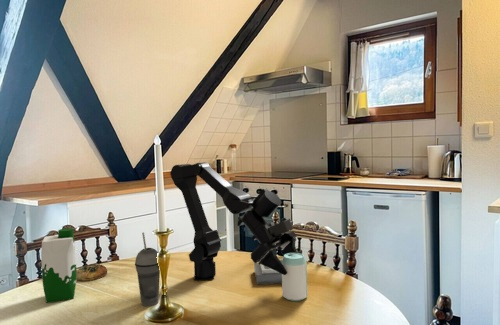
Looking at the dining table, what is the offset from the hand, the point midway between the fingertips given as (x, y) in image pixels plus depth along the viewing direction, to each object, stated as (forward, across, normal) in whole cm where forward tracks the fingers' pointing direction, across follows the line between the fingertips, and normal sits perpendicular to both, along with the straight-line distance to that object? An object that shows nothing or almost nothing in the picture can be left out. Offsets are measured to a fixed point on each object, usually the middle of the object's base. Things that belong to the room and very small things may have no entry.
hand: (293, 269), depth 105 cm
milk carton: (-38, -34, +48) cm, 70 cm away
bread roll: (-44, -18, +55) cm, 72 cm away
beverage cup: (-18, -24, +29) cm, 42 cm away
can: (+6, 0, +6) cm, 8 cm away
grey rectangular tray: (-3, +12, +14) cm, 19 cm away
